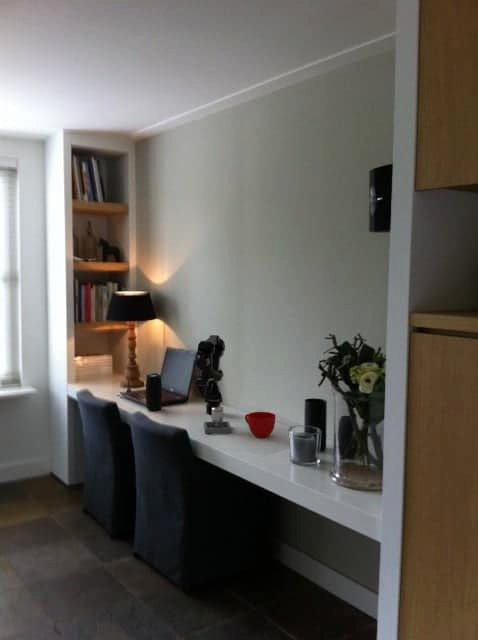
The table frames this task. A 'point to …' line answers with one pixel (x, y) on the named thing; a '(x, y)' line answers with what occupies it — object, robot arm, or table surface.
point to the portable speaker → (153, 392)
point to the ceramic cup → (261, 423)
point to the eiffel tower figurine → (128, 389)
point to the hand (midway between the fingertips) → (206, 395)
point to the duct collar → (217, 430)
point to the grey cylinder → (217, 417)
